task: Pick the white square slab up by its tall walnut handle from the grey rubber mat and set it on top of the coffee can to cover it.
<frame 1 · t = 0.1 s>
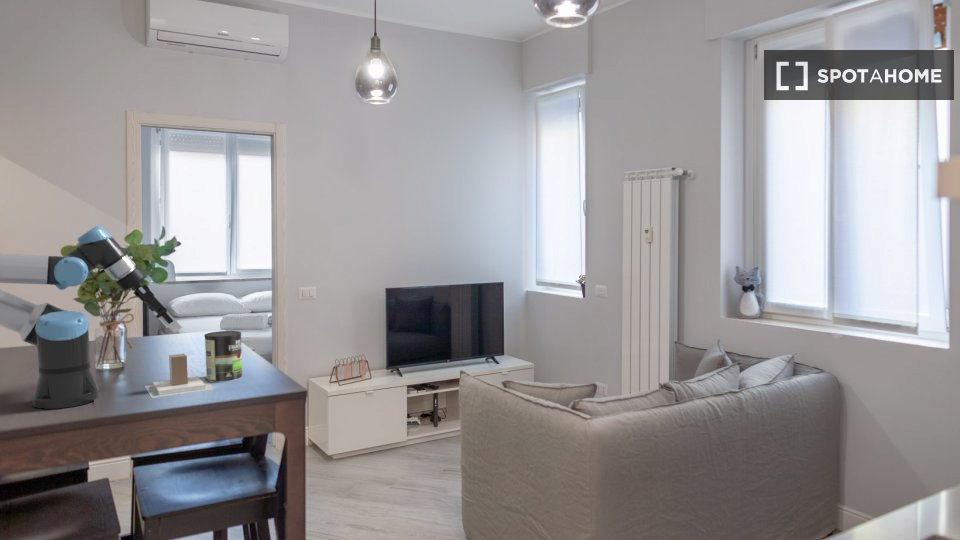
hand: (174, 327, 202), 15 cm above the table, tool tilted 35°, fingers open, 13 cm apart
mat: (179, 389, 188), on the table
coffee can: (224, 380, 199), on the table
white square slab: (179, 387, 188), point 1 cm above the table, touching mat
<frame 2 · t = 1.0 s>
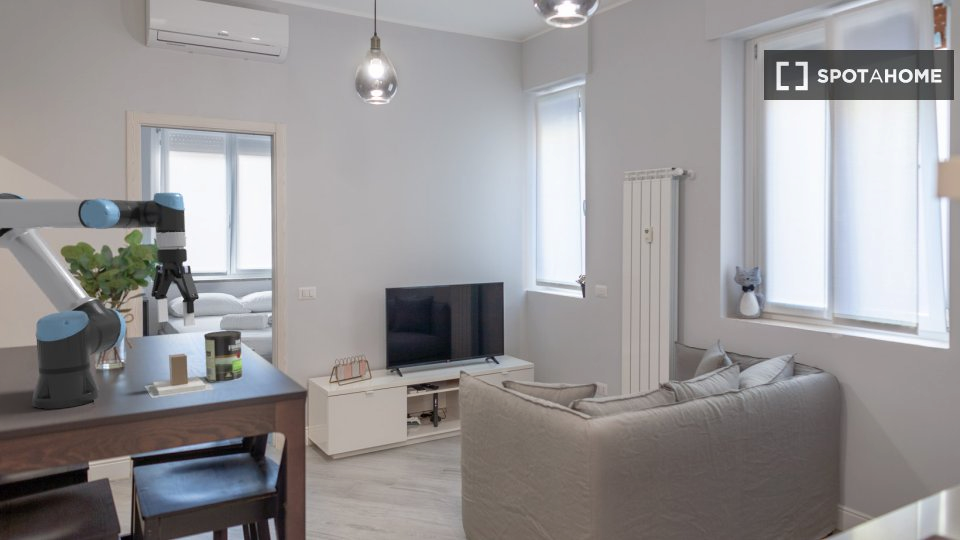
hand: (175, 323, 187), 19 cm above the table, tool pointing down, fingers open, 13 cm apart
nothing on the table moved.
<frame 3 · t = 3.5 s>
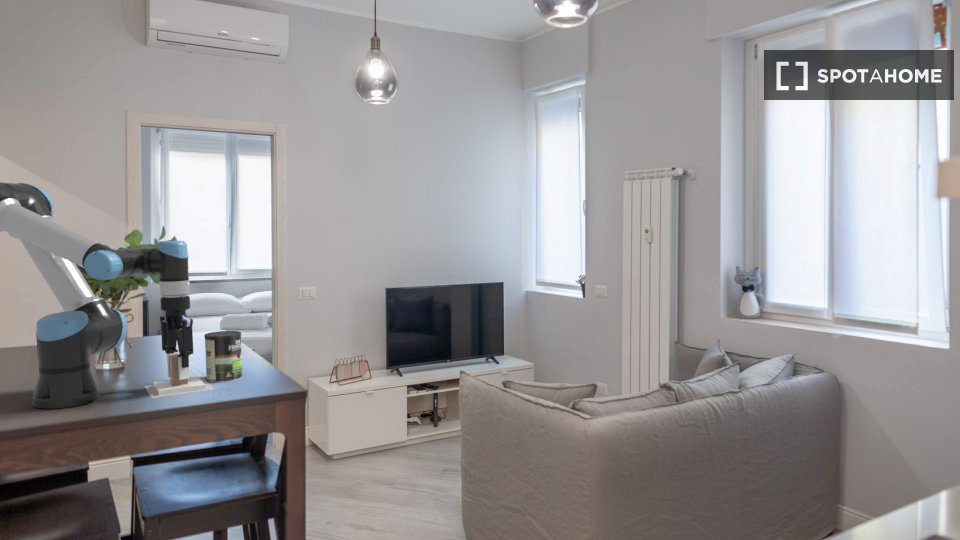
hand: (178, 377, 188), 4 cm above the table, tool pointing down, fingers closed on white square slab, 5 cm apart
white square slab: (179, 387, 188), point 1 cm above the table, touching gripper, mat
everything else where it was.
when the fingers open (19 cm above the table, at t = 7.9 s): white square slab drops 2 cm, resting on coffee can.
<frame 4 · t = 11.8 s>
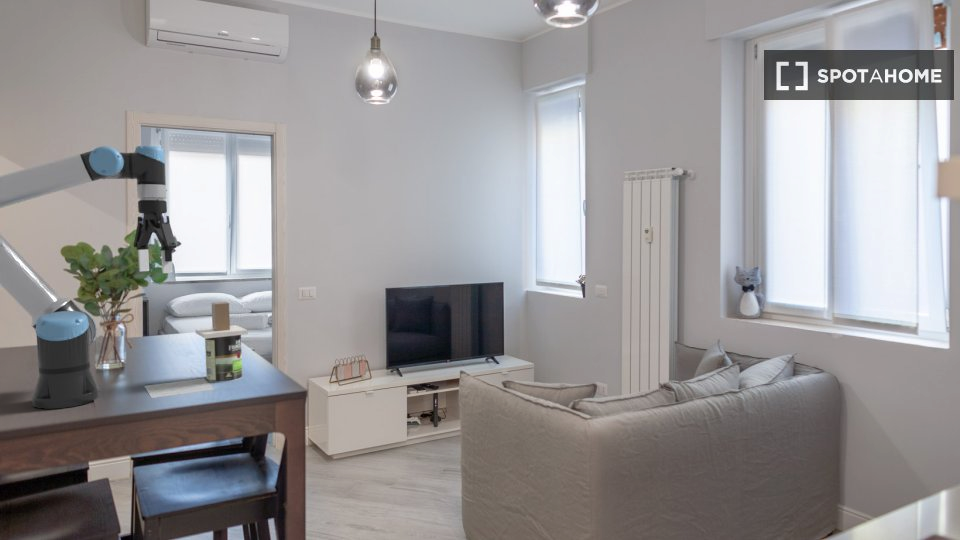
hand: (155, 272, 196), 33 cm above the table, tool pointing down, fingers open, 13 cm apart
coffee can: (224, 380, 199), on the table, touching white square slab
white square slab: (221, 333, 198), point 14 cm above the table, touching coffee can
at the end: white square slab 0.4 cm from the coffee can (horizontally); white square slab point 14.0 cm above the table; white square slab tilted 0° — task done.
